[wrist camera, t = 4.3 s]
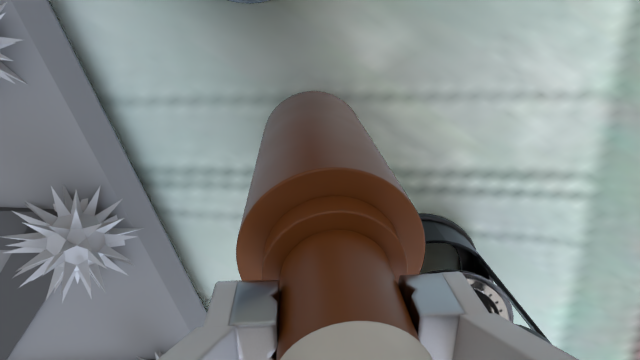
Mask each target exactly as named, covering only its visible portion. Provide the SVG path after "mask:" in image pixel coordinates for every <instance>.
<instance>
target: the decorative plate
mask: <svg viewBox="0 0 640 360" xmlns="http://www.w3.org/2000/svg"><path fill="white" fill-rule="evenodd" d="M206 315H207V312H206V310H205V308H204V306H203V304H202V302H201V300H200V298H199V296H198V294H197V292H196V290H195V289H194V287H193V285H192V283H191V281H190V279H189V277H188V275H187V273H186V271H185V269H184V267H183V265H182V263H181V261H180V259H179V257H178V255H177V253H176V251H175V249H174V247H173V245H172V243H171V241H170V239H169V237H168V235H167V233H166V231H165V229H164V228H163V226H162V224H161V222H160V220H159V218H158V216H157V214H156V212H155V210H154V208H153V206H152V204H151V202H150V200H149V198H148V196H147V194H146V192H145V190H144V188H143V186H142V184H141V182H140V180H139V178H138V176H137V174H136V172H135V170H134V169H133V167H132V165H131V163H130V161H129V159H128V157H127V155H126V153H125V151H124V149H123V147H122V145H121V143H120V141H119V139H118V137H117V135H116V133H115V131H114V129H113V127H112V125H111V123H110V121H109V119H108V117H107V115H106V113H105V111H104V109H103V108H102V106H101V104H100V102H99V100H98V98H97V96H96V94H95V92H94V90H93V88H92V86H91V84H90V82H89V80H88V78H87V76H86V74H85V72H84V70H83V68H82V66H81V64H80V62H79V60H78V58H77V56H76V54H75V52H74V50H73V49H72V47H71V45H70V43H69V41H68V39H67V37H66V35H65V33H64V31H63V29H62V27H61V25H60V23H59V21H58V19H57V17H56V15H55V13H54V11H53V9H52V7H51V5H50V3H49V1H48V0H0V360H157V359H159V358H160V357H161V356H162V355H163V354H165V353H166V352H167V351H168V350H170V349H171V348H172V347H173V346H174V345H176V344H177V343H178V342H179V341H181V340H182V339H183V338H184V337H185V336H187V335H188V334H189V333H190V332H192V331H193V330H194V329H195V328H197V327H203V325H204V322H205V318H206Z"/></svg>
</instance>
